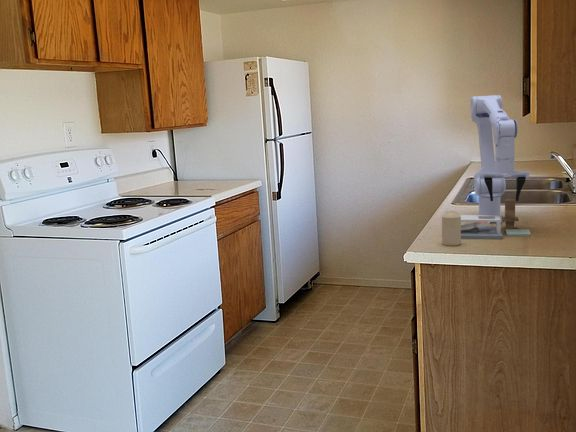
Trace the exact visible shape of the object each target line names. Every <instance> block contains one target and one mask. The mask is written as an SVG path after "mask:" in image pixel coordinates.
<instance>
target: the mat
mask: <svg viewBox="0 0 576 432" xmlns="http://www.w3.org/2000/svg"><path fill="white" fill-rule="evenodd" d="M505 234H506V236H507V237H532V234H531V231H530V229H528V228H527V229H526V228H525V229H522V228H521V229H516V228H514V229H506V228H505Z"/></svg>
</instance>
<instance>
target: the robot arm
mask: <svg viewBox="0 0 576 432" xmlns="http://www.w3.org/2000/svg"><path fill="white" fill-rule="evenodd" d="M469 106H470V118H471V121H472V122H473V123H475V124H476V126H477V131H478V144H479V155H480V167H481V168H480V169H479V170H477V171H476V172H475V174H474V178H473V190H474V191H473V192H474V194H475V195H476V196H478V215H499V216H500V220H501V223H502V222H503V221H502V215H501V197H502V196H503V195H504V193H506V188H507V183H506V179H516V180H515V181H516V182H515V183H516V187H515V188H516V190H515V202H519V199H520V195H521V193H522V189H523V187H524V185H525V182H526V179H530V171H526V170H525V171H522V170H519V171H518V170H515V143H516V141H515V139H516V138H517V135H518V131H519V130H518V121H517V120H516V119H513V118H512V119H510V117H509V115H508V114H507V112H506V110H503V97H502V96H501V95H500V94H494V95H479V96H478V95H477V96H476V95H473V96H472V97H471V99H470V105H469ZM494 145H495V148H494ZM479 219H495V218H479Z"/></svg>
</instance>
